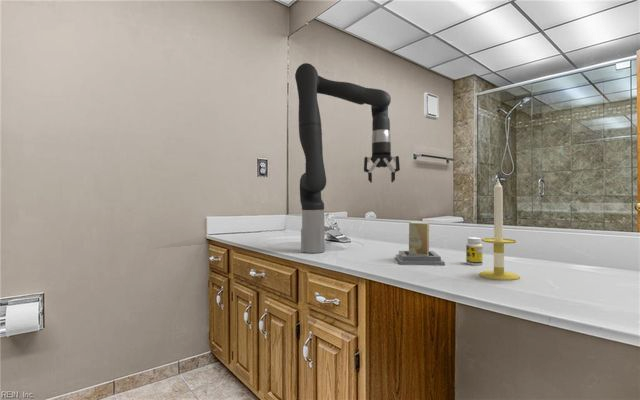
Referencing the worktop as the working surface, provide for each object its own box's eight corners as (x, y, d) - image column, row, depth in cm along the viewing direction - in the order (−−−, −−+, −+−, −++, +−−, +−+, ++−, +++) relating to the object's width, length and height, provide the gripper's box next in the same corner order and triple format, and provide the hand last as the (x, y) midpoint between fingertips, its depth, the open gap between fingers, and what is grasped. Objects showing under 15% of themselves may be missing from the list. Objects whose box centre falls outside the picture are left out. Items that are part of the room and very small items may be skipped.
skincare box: (408, 258, 115) (408, 222, 115) (410, 256, 118) (410, 221, 118) (428, 259, 112) (427, 222, 112) (429, 257, 116) (429, 222, 116)
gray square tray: (400, 264, 109) (400, 256, 109) (395, 257, 123) (395, 250, 123) (444, 265, 107) (444, 257, 107) (435, 257, 121) (435, 250, 121)
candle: (502, 281, 85) (501, 176, 85) (470, 274, 95) (469, 178, 95) (528, 277, 89) (527, 176, 89) (495, 270, 99) (494, 178, 99)
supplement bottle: (463, 263, 110) (462, 237, 110) (473, 261, 112) (473, 236, 112) (475, 265, 106) (474, 239, 106) (485, 264, 108) (485, 238, 108)
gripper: (363, 141, 133) (364, 182, 133) (400, 140, 132) (400, 181, 132) (363, 144, 141) (363, 183, 141) (398, 143, 139) (398, 182, 139)
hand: (381, 182), depth 136 cm, fingers open, 8 cm apart
